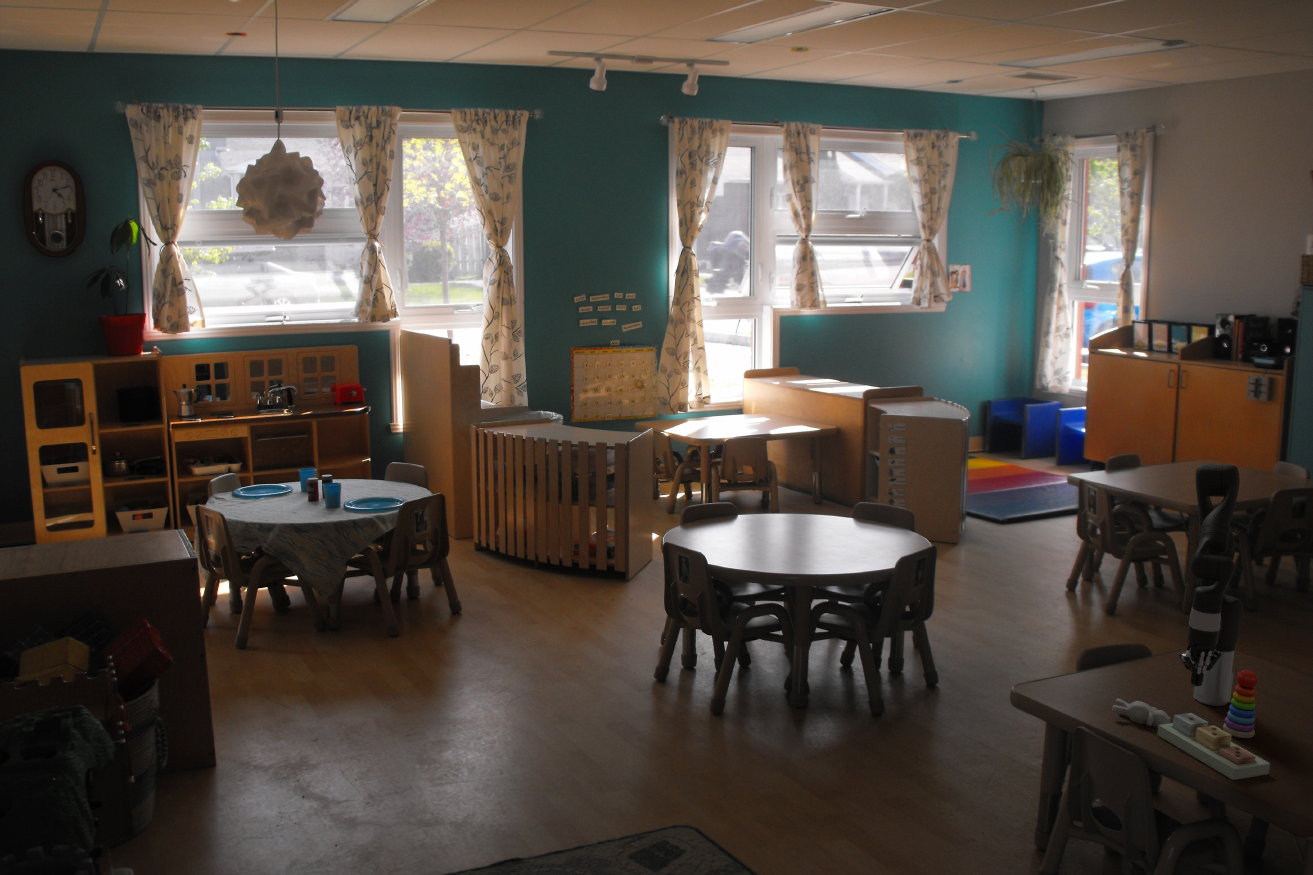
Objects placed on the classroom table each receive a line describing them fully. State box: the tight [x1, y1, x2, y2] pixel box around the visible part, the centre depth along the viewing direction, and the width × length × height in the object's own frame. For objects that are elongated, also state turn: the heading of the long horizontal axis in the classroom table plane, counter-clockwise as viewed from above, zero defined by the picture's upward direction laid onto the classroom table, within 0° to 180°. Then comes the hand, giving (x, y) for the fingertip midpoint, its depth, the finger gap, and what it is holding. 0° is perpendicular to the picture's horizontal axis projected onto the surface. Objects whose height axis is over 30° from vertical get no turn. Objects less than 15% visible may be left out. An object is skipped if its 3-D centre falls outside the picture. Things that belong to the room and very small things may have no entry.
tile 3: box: [1218, 745, 1257, 765], centre depth 282 cm, size 6×6×4 cm
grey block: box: [1172, 712, 1209, 738], centre depth 296 cm, size 6×6×4 cm
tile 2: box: [1195, 725, 1233, 751], centre depth 289 cm, size 6×6×4 cm
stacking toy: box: [1222, 669, 1259, 739], centre depth 301 cm, size 8×8×19 cm
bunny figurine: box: [1111, 698, 1171, 729], centre depth 308 cm, size 10×5×15 cm
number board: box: [1156, 722, 1271, 781], centre depth 289 cm, size 12×26×3 cm, turn 18°
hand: (1196, 684), depth 294 cm, fingers closed
